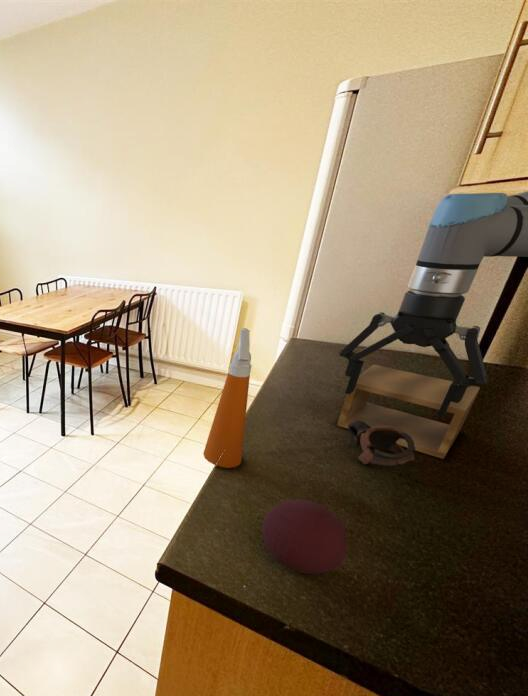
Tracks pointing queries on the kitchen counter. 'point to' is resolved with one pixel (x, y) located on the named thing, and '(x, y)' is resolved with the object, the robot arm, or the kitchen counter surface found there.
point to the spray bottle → (231, 410)
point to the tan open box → (411, 389)
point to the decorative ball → (305, 536)
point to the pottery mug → (381, 443)
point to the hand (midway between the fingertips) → (392, 403)
